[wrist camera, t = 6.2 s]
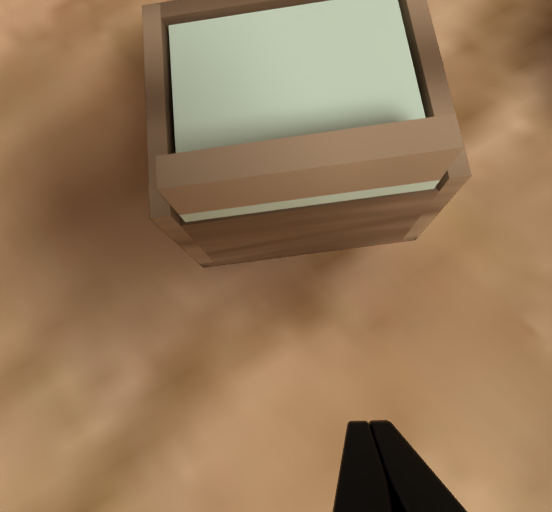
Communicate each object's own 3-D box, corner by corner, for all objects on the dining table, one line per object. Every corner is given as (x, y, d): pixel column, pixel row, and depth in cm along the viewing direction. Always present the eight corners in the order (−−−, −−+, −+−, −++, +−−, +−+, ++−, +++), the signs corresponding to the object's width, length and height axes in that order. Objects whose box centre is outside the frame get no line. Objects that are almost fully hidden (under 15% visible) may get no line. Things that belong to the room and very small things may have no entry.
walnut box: (415, 239, 23) (471, 175, 15) (202, 267, 24) (150, 218, 16) (383, 86, 26) (416, -38, 18) (192, 114, 26) (142, 5, 18)
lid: (433, 188, 16) (463, 146, 13) (185, 222, 16) (157, 189, 13) (391, 6, 18) (408, -67, 15) (174, 39, 19) (148, -25, 16)
